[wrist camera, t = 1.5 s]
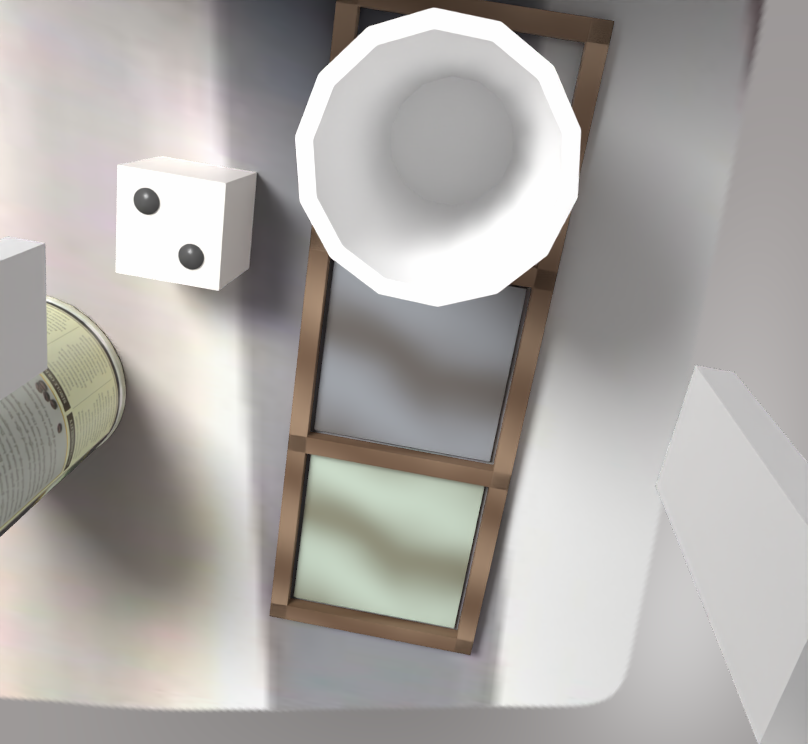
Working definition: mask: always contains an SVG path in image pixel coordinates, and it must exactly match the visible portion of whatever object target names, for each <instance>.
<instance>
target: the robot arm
mask: <svg viewBox="0 0 808 744" xmlns="http://www.w3.org/2000/svg"><path fill="white" fill-rule="evenodd" d="M46 369H48V368H47V311H46V253H45V243H42V242H37V241H31V240H26V239H20V238H15V237H10V236H8V237H5V238H2V239H0V400H2V399H3V398H5V397H6V396H8V395H9V394H11V393H12V392H14V391H15V390H17V389H18V388H19V387H21V386H22V385H24V384H25V383H27V382H28V381H30V380H31V379H33V378H34V377H36V376H37V375H39V374H40V373H42V372H43V371H45V370H46ZM656 489H657V491H658V494H659V496H660V499H661V501H662V504H663V506H664V509H665V511H666V514H667V516H668V519H669V521H670V524H671V526H672V529H673V531H674V534H675V536H676V539H677V541H678V544H679V546H680V549H681V551H682V554H683V557H684V559H685V562H686V564H687V567H688V569H689V572H690V574H691V576H692V579H693V582H694V584H695V586H696V589H697V592H698V594H699V597H700V599H701V602H702V604H703V607H704V609H705V611H706V614H707V617H708V619H709V622H710V624H711V627H712V630H713V632H714V635H715V637H716V639H717V642H718V644H719V647H720V650H721V652H722V655H723V657H724V660H725V662H726V665H727V667H728V670H729V672H730V675H731V677H732V680H733V682H734V685H735V687H736V690H737V692H738V695H739V697H740V700H741V702H742V705H743V707H744V710H745V713H746V715H747V717H748V720H749V722H750V725H751V728H752V730H753V733H754V735H755V738H756V740H757V742H758V744H808V462H807V461H806V460H805V459H804V457H803V456H802V455H801V454H800V452H799V451H798V450H797V449H796V447H795V446H794V445H793V444H792V442H791V441H790V440H789V439H788V437H787V436H786V435H785V434H784V432H783V431H782V430H781V429H780V428H779V426H778V425H777V424H776V423H775V422H774V420H773V419H772V418H771V416H770V415H769V414H768V413H767V411H766V410H765V409H764V408H763V407H762V405H761V404H760V403H759V402H758V400H757V399H756V398H755V397H754V395H753V394H752V393H751V392H750V390H749V389H748V388H747V387H746V385H745V384H744V383H743V382H742V381H741V379H740V378H739V377H738V376H737V375H736V373H735V372H731V371H726V370H721V369H715V368H710V367H704V366H699V365H695V368H694V371H693V374H692V377H691V380H690V383H689V386H688V389H687V392H686V395H685V398H684V401H683V404H682V407H681V410H680V413H679V416H678V419H677V422H676V425H675V428H674V432H673V435H672V438H671V441H670V444H669V447H668V450H667V453H666V456H665V459H664V462H663V465H662V468H661V471H660V474H659V477H658V480H657V483H656Z"/></svg>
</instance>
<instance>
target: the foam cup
mask: <svg viewBox="0 0 808 744" xmlns="http://www.w3.org/2000/svg"><path fill="white" fill-rule="evenodd" d="M295 142H296V156H297V169H298V183H299V197H300V203H301V205H302V206H303V208H304V210H305V212H306V214H307V216H308V218H309V219H310V221H311V223H312V225H313V227H314V229H315V230H316V232H317V234H318V236H319V238H320V240H321V242H322V243H323V245H324V247H325V249H326V251H327V253H328V254H329V256H330V257H331V258H332V259H333V260H335V261H336V262H337V263H339V264H340V265H341V266H342V267H344V268H345V269H346V270H348V271H349V272H350V273H352V274H353V275H354V276H356V277H357V278H358V279H360V280H361V281H362V282H364V283H365V284H366V285H368V286H369V287H370V288H371V289H373V290H374V291H375V292H377V293H378V294H381V295H386V296H390V297H395V298H399V299H404V300H409V301H413V302H418V303H422V304H427V305H431V306H436V307H439V306H444V305H448V304H453V303H457V302H462V301H466V300H471V299H475V298H480V297H484V296H489V295H493V294H497V293H499V292H500V291H501V290H503V289H504V288H505V287H507V286H508V285H509V284H510V283H512V282H513V281H514V280H516V279H517V278H518V277H520V276H521V275H522V274H524V273H525V272H526V271H527V270H529V269H530V268H531V267H533V266H534V265H535V264H537V263H538V262H539V261H541V260H542V259H543V258H544V257H546V256H547V255H548V253H549V251H550V249H551V247H552V245H553V243H554V242H555V240H556V238H557V236H558V234H559V232H560V230H561V228H562V226H563V224H564V223H565V221H566V219H567V217H568V215H569V213H570V211H571V209H572V207H573V206H574V204H575V202H576V200H577V198H578V182H579V162H580V142H581V128H580V126H579V124H578V121H577V119H576V117H575V114H574V112H573V109H572V107H571V105H570V102H569V100H568V98H567V95H566V93H565V91H564V88H563V86H562V84H561V81H560V79H559V76H558V74H557V72H556V69H555V67H554V66H553V65H552V64H551V63H550V62H549V61H547V60H546V59H545V58H544V57H543V56H541V55H540V54H539V53H538V52H537V51H536V50H534V49H533V48H532V47H531V46H530V45H528V44H527V43H526V42H525V41H524V40H522V39H521V38H520V37H519V36H518V35H516V34H515V33H514V32H513V31H512V30H511V29H509V28H508V27H507V26H506V25H505V24H503V23H502V22H501V21H496V20H491V19H486V18H482V17H477V16H472V15H467V14H463V13H458V12H453V11H448V10H444V9H439V8H434V7H433V8H430V9H427V10H423V11H420V12H416V13H413V14H410V15H406V16H403V17H399V18H396V19H392V20H389V21H386V22H382V23H379V24H375V25H372V26H369V27H367V28H366V29H365V30H364V31H363V32H362V33H361V34H360V35H359V36H358V37H357V38H356V39H355V40H353V41H352V42H351V43H350V44H349V45H348V46H347V47H346V48H345V49H344V50H343V51H342V52H341V53H340V54H339V55H338V56H337V57H336V58H335V59H334V60H332V61H331V62H330V63H329V64H328V65H327V66H326V67H325V68H324V69H323V70H322V71H321V72H320V73H319V74H318V77H317V79H316V82H315V85H314V87H313V90H312V93H311V95H310V98H309V101H308V103H307V106H306V109H305V111H304V114H303V117H302V119H301V122H300V125H299V127H298V130H297V133H296V135H295Z"/></svg>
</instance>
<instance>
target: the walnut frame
mask: <svg viewBox="0 0 808 744" xmlns="http://www.w3.org/2000/svg"><path fill="white" fill-rule="evenodd" d="M360 7H362V8H368V9H375V10H381V11H387V12H394V13H400V14H406V15H410V14H413V13H416V12H420V11H423V10H427V9H430V8H433V7H434V8H439V9H444V10H448V11H453V12H458V13H463V14H467V15H472V16H477V17H482V18H486V19H491V20H496V21H501V22H502V23H503V24H505V25H506V26H507V27H508V28H509V29H511V30H512V31H513V32H520V33H526V34H532V35H539V36H545V37H551V38H558V39H564V40H570V41H577V42H583V43H585V44H584V49H583V54H582V58H581V63H580V67H579V72H578V77H577V81H576V86H575V90H574V95H573V100H572V104H571V107H572V109H573V112H574V114H575V117H576V119H577V121H578V124H579V126H580V128H581V142H580V162H579V175H580V171H581V166H582V162H583V158H584V153H585V149H586V144H587V140H588V136H589V131H590V127H591V123H592V118H593V114H594V109H595V105H596V101H597V96H598V92H599V87H600V83H601V79H602V74H603V70H604V65H605V61H606V57H607V52H608V48H609V43H610V39H611V35H612V30H613V26H614V21H611V20H604V19H598V18H592V17H585V16H579V15H573V14H566V13H560V12H554V11H547V10H541V9H534V8H528V7H522V6H515V5H509V4H503V3H496V2H490V1H484V0H336V8H335V17H334V26H333V36H332V45H331V54H330V62H331V61H332V60H334V59H335V58H336V57H337V56H338V55H339V54H340V53H341V52H342V51H343V50H344V49H345V48H346V47H347V46H348V45H349V44H350V43H351V42H352V41H353V40H355V39H356V38H357V32H358V23H359V15H360ZM571 210H572V209H571ZM570 215H571V211H570V213H569V215H568V217H567V219H566V221H565V223H564V224H563V226H562V228H561V230H560V232H559V234H558V236H557V238H556V240H555V242H554V243H553V245H552V247H551V249H550V251H549V253H548V255H547V256H546V257H544V258H543V259H542V260H541V261H539V262H538V263H537V265H534V266H533V267H531V268H530V269H529V270H527V271H526V272H525V273H524V274H522V275H521V276H520V277H518V278H517V279H516V280H514V281H513V282H512V283H510V284H513V285H519V286H524V287H530V288H532V289H531V293H530V298H529V303H528V307H527V312H526V316H525V321H524V326H523V330H522V335H521V339H520V344H519V349H518V353H517V358H516V362H515V367H514V372H513V376H512V381H511V386H510V390H509V395H508V399H507V404H506V409H505V413H504V418H503V422H502V427H501V432H500V436H499V441H498V445H497V450H496V455H495V459H494V464H493V465H491V464H485V463H480V462H475V461H469V460H464V459H458V458H453V457H447V456H442V455H436V454H431V453H426V452H420V451H415V450H409V449H404V448H398V447H393V446H387V445H382V444H377V443H371V442H366V441H360V440H355V439H349V438H344V437H338V436H333V435H328V434H322V433H317V432H311V431H310V427H311V418H312V410H313V402H314V393H315V385H316V376H317V368H318V360H319V351H320V343H321V334H322V326H323V318H324V309H325V301H326V292H327V284H328V275H329V267H330V259H331V257H330V256H329V254H328V253H327V251H326V249H325V247H324V245H323V243H322V242H321V240H320V238H319V236H318V234H317V232H316V230H315V229H314V227H313V225H312V229H311V238H310V248H309V257H308V266H307V275H306V285H305V294H304V303H303V312H302V321H301V331H300V340H299V349H298V358H297V368H296V377H295V386H294V395H293V404H292V414H291V423H290V432H289V441H288V451H287V460H286V469H285V478H284V487H283V497H282V506H281V515H280V524H279V534H278V543H277V552H276V561H275V570H274V580H273V589H272V598H271V607H270V616H272V617H277V618H283V619H288V620H293V621H298V622H303V623H308V624H313V625H319V626H324V627H329V628H334V629H339V630H344V631H349V632H354V633H360V634H365V635H370V636H375V637H380V638H385V639H390V640H395V641H401V642H406V643H411V644H416V645H421V646H426V647H431V648H437V649H442V650H447V651H452V652H457V653H462V654H467V655H470V654H471V650H472V646H473V641H474V637H475V632H476V628H477V624H478V619H479V615H480V610H481V606H482V602H483V597H484V593H485V588H486V584H487V580H488V575H489V571H490V566H491V562H492V558H493V553H494V549H495V544H496V540H497V536H498V531H499V527H500V523H501V518H502V514H503V509H504V505H505V501H506V496H507V492H508V487H509V483H510V479H511V474H512V470H513V465H514V461H515V457H516V452H517V448H518V443H519V439H520V435H521V430H522V426H523V421H524V417H525V413H526V408H527V404H528V399H529V395H530V391H531V386H532V382H533V377H534V373H535V369H536V364H537V360H538V355H539V351H540V347H541V342H542V338H543V334H544V329H545V325H546V320H547V316H548V312H549V307H550V303H551V298H552V294H553V290H554V285H555V281H556V276H557V272H558V268H559V263H560V259H561V254H562V250H563V246H564V241H565V237H566V232H567V228H568V224H569V219H570ZM526 290H527V288H523V287H517V286H511V285H508V286H507V287H505V288H504V289H503V290H501V291H500V292H499V293H497V294H493V295H489V296H484V297H480V298H475V299H471V300H466V301H462V302H457V303H453V304H448V305H444V306H439V307H436V306H431V305H427V304H422V303H418V302H413V301H409V300H404V299H399V298H395V297H390V296H386V295H381V294H378V293H377V292H375V291H374V290H373V289H371V288H370V287H369V286H368V285H366V284H365V283H364V282H362V281H361V280H360V279H358V278H357V277H356V276H354V275H353V274H352V273H350V272H349V271H348V270H346V269H345V268H344V267H342V266H341V265H340V264H339V263H337V262H336V261H335V260H334V268H333V277H332V285H331V293H330V302H329V310H328V318H327V326H326V335H325V343H324V351H323V359H322V368H321V376H320V384H319V393H318V401H317V409H316V417H315V426H314V430H319V431H325V432H330V433H336V434H341V435H346V436H352V437H357V438H363V439H368V440H374V441H379V442H385V443H390V444H395V445H401V446H406V447H412V448H417V449H423V450H428V451H434V452H439V453H444V454H450V455H455V456H461V457H466V458H472V459H477V460H483V461H488V462H490V458H491V454H492V449H493V444H494V440H495V435H496V430H497V426H498V421H499V416H500V412H501V407H502V402H503V398H504V393H505V388H506V384H507V379H508V374H509V370H510V365H511V360H512V356H513V351H514V346H515V342H516V337H517V332H518V328H519V323H520V318H521V314H522V309H523V304H524V300H525V295H526ZM307 454H311V459H310V467H309V475H308V484H307V492H306V500H305V508H304V517H303V525H302V533H301V541H300V550H299V558H298V566H297V575H296V583H295V591H294V597H296V598H301V599H306V600H311V601H316V602H322V603H327V604H332V605H337V606H342V607H347V608H353V609H358V610H363V611H368V612H373V613H378V614H384V615H389V616H394V617H399V618H404V619H409V620H415V621H420V622H425V623H430V624H435V625H440V626H446V627H451V628H454V626H455V621H456V617H457V612H458V607H459V603H460V598H461V593H462V589H463V584H464V579H465V575H466V570H467V565H468V561H469V556H470V551H471V547H472V542H473V537H474V533H475V528H476V523H477V519H478V514H479V509H480V505H481V500H482V495H483V491H484V486H485V487H488V492H487V496H486V501H485V505H484V510H483V515H482V519H481V524H480V528H479V533H478V538H477V542H476V547H475V552H474V556H473V561H472V565H471V570H470V575H469V579H468V584H467V588H466V593H465V598H464V602H463V607H462V611H461V616H460V621H459V625H458V630H454V629H449V628H444V627H439V626H434V625H429V624H424V623H418V622H413V621H408V620H403V619H398V618H393V617H387V616H382V615H377V614H372V613H367V612H362V611H356V610H351V609H346V608H341V607H336V606H331V605H325V604H320V603H315V602H310V601H305V600H300V599H294V598H290V595H291V587H292V578H293V570H294V561H295V553H296V545H297V536H298V528H299V519H300V511H301V503H302V494H303V486H304V477H305V469H306V460H307Z"/></svg>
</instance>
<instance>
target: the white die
mask: <svg viewBox="0 0 808 744" xmlns="http://www.w3.org/2000/svg"><path fill="white" fill-rule="evenodd" d="M256 178H257V172H253V171H247V170H241V169H235V168H229V167H223V166H217V165H211V164H205V163H200V162H194V161H188V160H182V159H176V158H170V157H164V156H159V157H154V158H149V159H144V160H139V161H133V162H128V163H123V164H118V167H117V224H116V273H121V274H126V275H132V276H138V277H143V278H149V279H155V280H160V281H166V282H172V283H177V284H183V285H189V286H194V287H200V288H206V289H211V290H217V291H219V290H220V289H222V288H223V287H225V286H226V285H227V284H229V283H230V282H231V281H233V280H234V279H235V278H237V277H238V276H239V275H241V274H242V273H243V272H245V271H246V270H247V269H249V265H250V252H251V240H252V228H253V215H254V203H255V191H256Z"/></svg>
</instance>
